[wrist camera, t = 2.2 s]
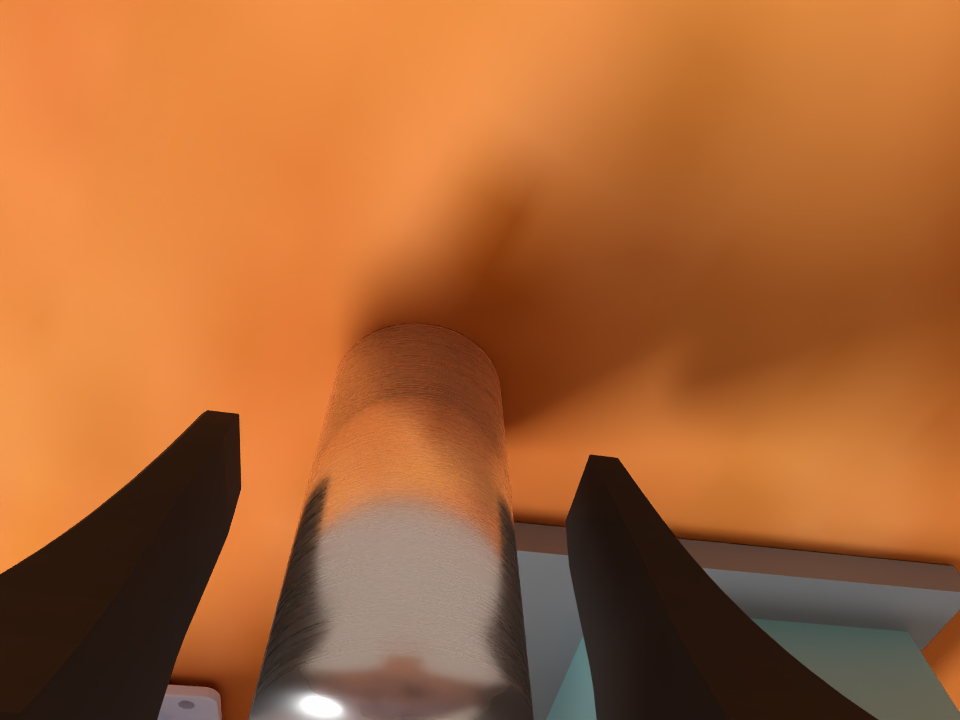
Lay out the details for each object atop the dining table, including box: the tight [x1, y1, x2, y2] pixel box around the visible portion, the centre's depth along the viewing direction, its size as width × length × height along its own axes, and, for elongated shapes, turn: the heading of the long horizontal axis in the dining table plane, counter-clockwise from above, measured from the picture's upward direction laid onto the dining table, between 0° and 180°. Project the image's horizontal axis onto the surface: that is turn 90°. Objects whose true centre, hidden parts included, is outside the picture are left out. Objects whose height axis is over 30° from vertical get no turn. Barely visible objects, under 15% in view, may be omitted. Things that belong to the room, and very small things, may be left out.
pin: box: [249, 323, 534, 720], centre depth 13 cm, size 4×4×8 cm
